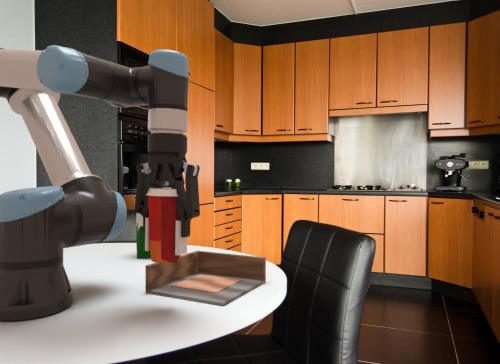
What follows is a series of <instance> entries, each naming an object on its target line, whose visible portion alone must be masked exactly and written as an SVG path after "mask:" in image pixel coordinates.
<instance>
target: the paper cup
mask: <svg viewBox="0 0 500 364" xmlns="http://www.w3.org/2000/svg"><path fill="white" fill-rule="evenodd" d="M146 195H148V206H149V231H150V252H151V258H150V261H151V262H153V263H172V262H177V261H179V260H180V255H175V234H176V220H177V219H178V218H179V214H178V211H177V207H176V199H177V196H178V195H177V192H176V189H172V188H171V187H162V188H150V189H149V190H148V193H147V194H146Z"/></svg>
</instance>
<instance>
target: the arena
mask: <svg viewBox="0 0 500 364" xmlns="http://www.w3.org/2000/svg"><path fill="white" fill-rule="evenodd" d="M266 259H267V258H266V257H264V256H253V255H243V254H242V255H241V254H235V253H233V254H232V253H223V252H213V251H203V250H195V251H194V250H193V251H191V252H187V253H185V254H182V255H180V260H179V261H177V262H172V263H156V262H153V263H150V264H147V265H145V293H146V294H150V295H151V294H152V295H157V296H163V297H168V298H175V299H180V300H185V301H186V300H187V301H192V302H198V303H202V304H203V303H205V304H208V305H209V304H210V305H214V306H215V305H216V306H220V307H221V306H222V307H225V306H226V305H228V304H230V303H231V302H233V301H235V300H237V299H239V298H241V297H242V296H244V295H245V294H248V293H249V292H251V291H253V290H255V289H257V288H258V287H260V286H262V285H264V284H265V283H266V281H267V279H266V277H267V276H266V275H267V273H266V270H267V269H266V268H267V267H266V265H267V262H266V261H267V260H266Z"/></svg>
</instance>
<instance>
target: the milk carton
mask: <svg viewBox="0 0 500 364" xmlns="http://www.w3.org/2000/svg"><path fill="white" fill-rule="evenodd" d="M141 207H142V206H141ZM135 214H136V217H135V220H136V221H135V225H136V226H135V229H136V230H135V232H136V233H135V235H136V237H135V239H136V242H135V243H136V244H135V245H136V259H151V252H150V251H145V233H144V232H143V216H142V215H141V214H139V213H136V212H135Z"/></svg>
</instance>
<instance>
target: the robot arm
mask: <svg viewBox="0 0 500 364" xmlns="http://www.w3.org/2000/svg"><path fill="white" fill-rule="evenodd" d="M148 57H149V58H148V61H147V64H148V65H145V66H140V67H128V66H125V65H122V64H119V63H115V62H113V61H109V60H106V59H102V58H99V57H96V56H93V55H89V54H87V53H84V52H81V51H78V50H76V49H74V48H72V47H66V46H60V45H56V44H54V45H53V44H52V45H48V46H46V49H45V48H44V49H43V50H40V49H38V50H37V49H35V50H33V49H11V48H10V49H9V48H8V49H7V48H3V47H0V98H1V99H2V98H3V99H6V100H7V103H8V105H9V107H10V109H11V110H12V112H13V113H15V114H17V115H20V116H21V117H22V119H23V121H24V123H25V127H26V128H27V130H28V133H29V135H30V138H31V140H32V142H33V144H34V147H35V148H36V152H37V153H38V156H39V157H40V160H41V161H42V164H43V166H44V168H45V170H46V173H47V175H48V178H49V180H50V182H51V184H52V185H50V186H38V187H37V186H36V187H28V188H20V189H14V190H9V191H5V192H2V193H1V194H0V321H2V322H6V321H7V322H12V321H14V322H15V321H25V320H33V319H39V318H42V317H47V316H51V315H55V314H56V313H60V312H62V311H65V310H67V309H68V308H70V307H71V306H72V305H73V303H74V291H73V288H72V286H71V283H70V280H69V278H68V275H67V272H66V268H65V266H64V249H69V248H73V247H80V246H87V245H93V244H102V243H104V242H108V241H111V240H113V239H115V238H117V237H119V235H120V234H121V233H122V231H123V229H124V227H125V224H126V219H127V217H128V216H127V215H128V213H127V212H128V210H127V204H126V202H125V199H124V197H123V196H122V194H121V193H120V192H117V191H115V190H112V189H110V190H109V189H108V188H107V186H106V184H105V183H104V181H103V179H102V177H100V176H99V175H95V174H92V172H91V170H90V168H89V166H88V163H87V161H86V160H85V158H84V156H83V154H82V151H81V149H80V148H79V145H78V143H77V141H76V139H75V137H74V134H73V133H72V132H71V129H70V127H69V125H68V123H67V120H66V118H65V117H64V114H63V113H62V110H61V109H60V107H59V105H58V104H59V102H60V98H61V96H62V94H64V95H73V96H78V97H85V98H88V99H89V98H90V99H93V100H99V101H103V102H106V103H107V104H108V105H109V106H111V107H113V108H124V109H126V108H127V109H128V108H133V107H141V106H147V108H148V109H147V110H148V112H147V113H148V114H147V130H148V131H149V132H150V133H149V134H148V135H147V152H148V153H149V159H148V161H147V162H145V163H137V165H136V172H137V180H136V193H135V201H134V213H135V214H136V213H139V214H141V215H142V216H143V232H144V233H145V251H150V231H149V206H148V195H146V194H147V193H148V190H149V189H150V188H164V186H165V184H166V182H167V183H168V186H170V188H172V189H176V192H177V195H178V196H177V199H176V207H177V211H178V214H179V218H178V219H177V220H176V234H175V255H184V254H187V253H188V238H189V237H190V236H191V222H192V219H194V218H197V217H200V215H201V209H200V205H201V204H200V193H199V191H200V190H199V173H200V168H201V167H200V165H198V164H191V163H188V160H187V158H186V155H187V153H188V136H187V134H186V133H187V132H188V113H189V112H188V110H189V109H188V108H189V107H188V103H189V101H188V97H189V84H190V83H189V82H190V73H189V59H188V57H187V56H186V55H185V53H182V52H180V51H177V50H173V49H156V50H155V49H154V50H153V51H152V52H151V53H150V54H149V56H148ZM183 173H184V174H185V175H184V174H183ZM141 206H142V207H141Z"/></svg>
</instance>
